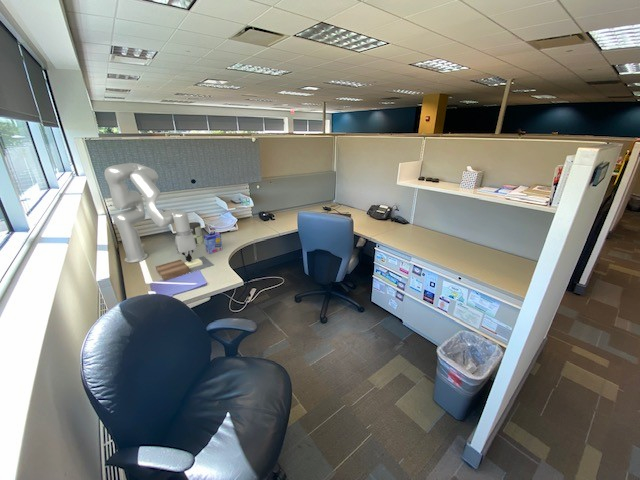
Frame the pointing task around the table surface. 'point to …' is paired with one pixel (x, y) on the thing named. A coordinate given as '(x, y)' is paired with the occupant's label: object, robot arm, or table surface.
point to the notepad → (194, 263)
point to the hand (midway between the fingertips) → (189, 261)
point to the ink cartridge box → (213, 242)
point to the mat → (205, 264)
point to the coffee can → (196, 232)
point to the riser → (172, 269)
